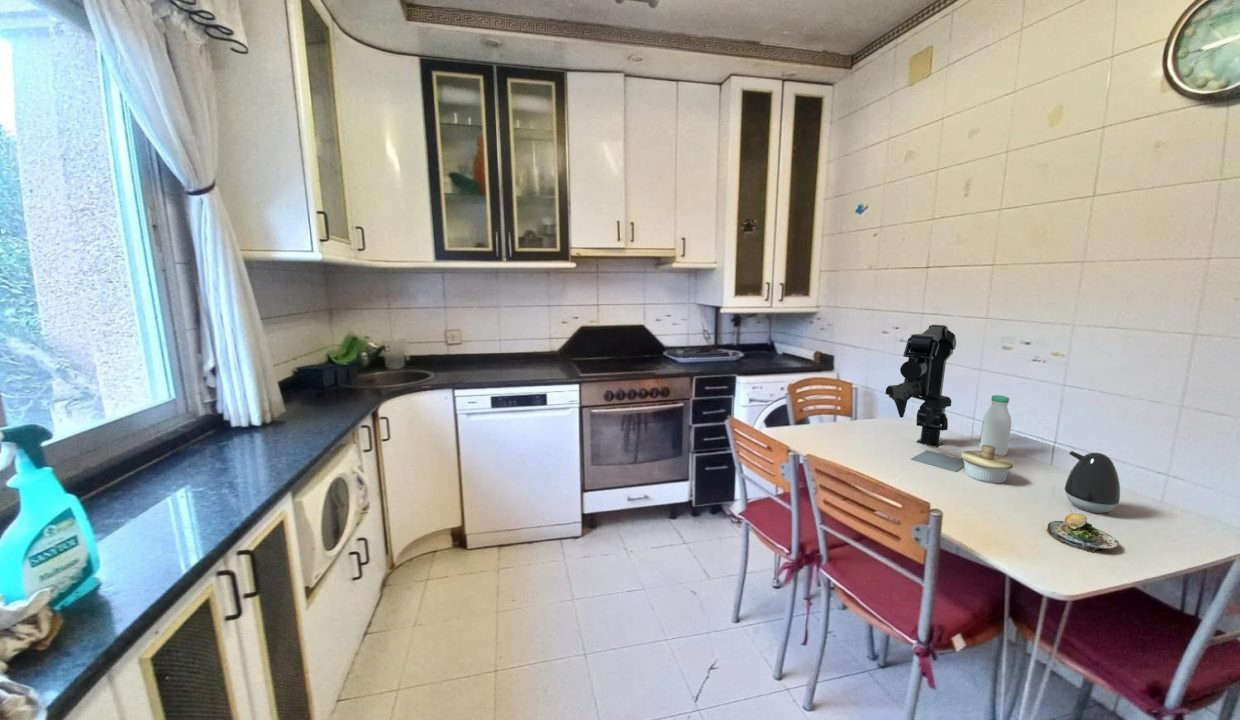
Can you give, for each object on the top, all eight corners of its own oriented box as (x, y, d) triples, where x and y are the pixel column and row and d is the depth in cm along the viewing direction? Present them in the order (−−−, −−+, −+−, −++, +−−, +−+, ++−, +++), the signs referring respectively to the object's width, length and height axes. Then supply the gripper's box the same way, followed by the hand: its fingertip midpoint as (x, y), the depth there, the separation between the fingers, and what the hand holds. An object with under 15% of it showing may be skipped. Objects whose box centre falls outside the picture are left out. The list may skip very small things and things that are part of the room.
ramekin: (958, 477, 142) (961, 461, 141) (964, 467, 150) (966, 451, 149) (1006, 489, 135) (1008, 471, 134) (1009, 477, 143) (1011, 460, 142)
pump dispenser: (1062, 495, 130) (1071, 443, 128) (1116, 508, 123) (1126, 453, 120) (1059, 507, 123) (1069, 452, 121) (1117, 522, 116) (1128, 464, 113)
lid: (969, 450, 150) (971, 437, 149) (1018, 462, 140) (1020, 448, 139) (955, 459, 143) (956, 445, 142) (1005, 472, 133) (1008, 457, 132)
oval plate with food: (1101, 560, 101) (1107, 528, 99) (1035, 533, 111) (1040, 504, 110) (1128, 547, 105) (1134, 516, 104) (1063, 523, 116) (1067, 494, 115)
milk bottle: (1012, 456, 158) (1021, 399, 155) (989, 456, 159) (997, 399, 155) (995, 448, 166) (1003, 393, 163) (973, 448, 166) (980, 393, 163)
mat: (926, 450, 164) (926, 450, 164) (970, 462, 154) (970, 461, 154) (910, 459, 156) (910, 458, 156) (956, 472, 146) (956, 471, 146)
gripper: (875, 370, 155) (871, 416, 158) (928, 382, 138) (923, 433, 141) (900, 368, 159) (895, 412, 162) (955, 379, 141) (949, 428, 144)
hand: (914, 421), depth 152 cm, fingers open, 9 cm apart
